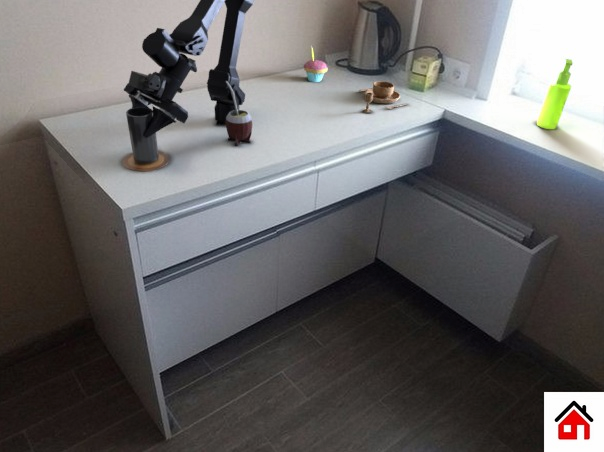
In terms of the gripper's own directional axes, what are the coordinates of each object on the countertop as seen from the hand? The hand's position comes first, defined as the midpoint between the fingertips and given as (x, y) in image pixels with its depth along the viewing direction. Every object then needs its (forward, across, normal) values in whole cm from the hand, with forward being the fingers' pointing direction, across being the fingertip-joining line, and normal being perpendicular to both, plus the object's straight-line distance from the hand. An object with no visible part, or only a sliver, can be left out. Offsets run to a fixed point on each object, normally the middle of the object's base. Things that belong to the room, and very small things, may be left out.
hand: (137, 132), depth 117 cm
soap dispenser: (-69, +62, +81) cm, 123 cm away
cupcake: (-52, -14, +64) cm, 84 cm away
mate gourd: (-13, +6, +24) cm, 28 cm away
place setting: (-51, +12, +63) cm, 82 cm away
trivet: (+5, 0, +6) cm, 8 cm away
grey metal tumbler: (+4, 0, +6) cm, 7 cm away
